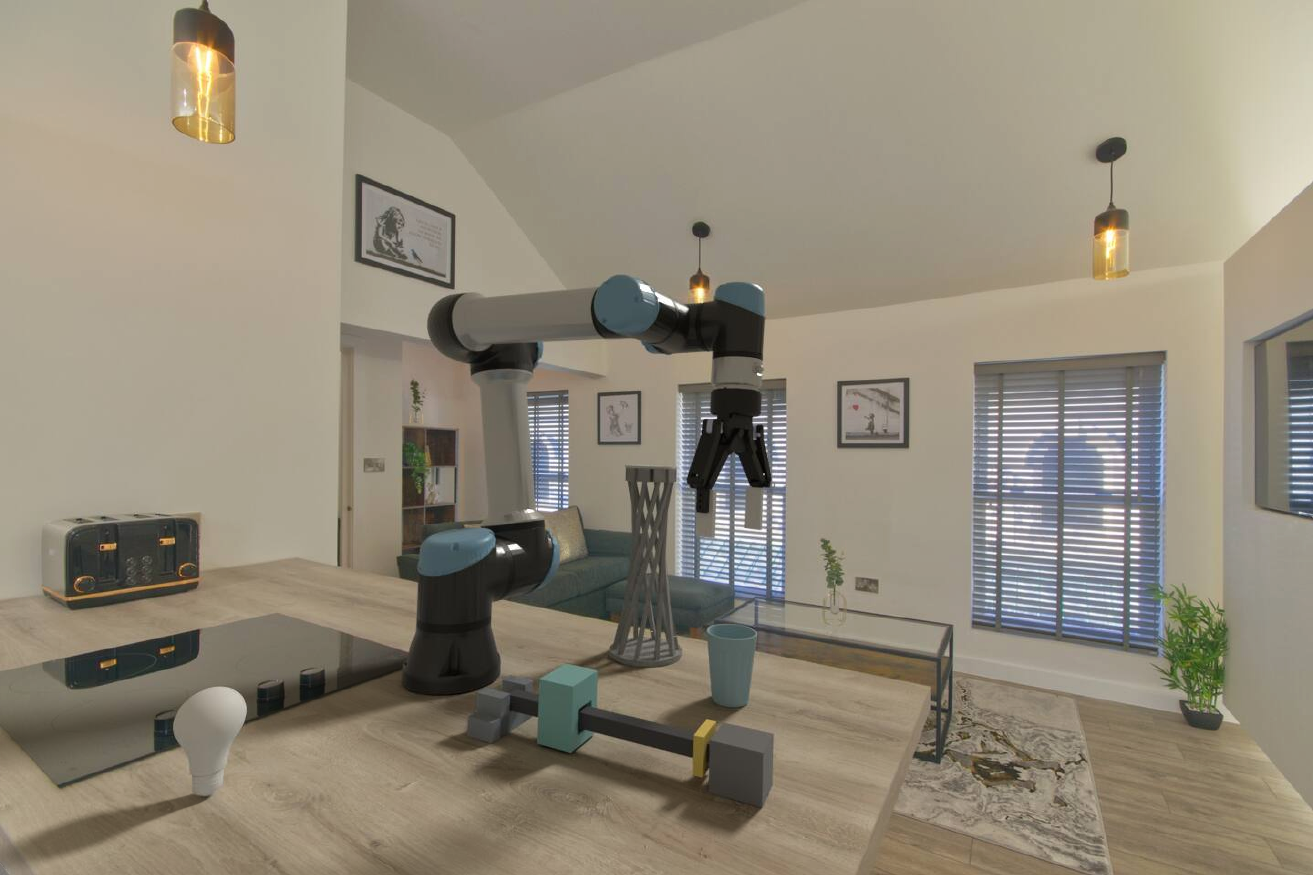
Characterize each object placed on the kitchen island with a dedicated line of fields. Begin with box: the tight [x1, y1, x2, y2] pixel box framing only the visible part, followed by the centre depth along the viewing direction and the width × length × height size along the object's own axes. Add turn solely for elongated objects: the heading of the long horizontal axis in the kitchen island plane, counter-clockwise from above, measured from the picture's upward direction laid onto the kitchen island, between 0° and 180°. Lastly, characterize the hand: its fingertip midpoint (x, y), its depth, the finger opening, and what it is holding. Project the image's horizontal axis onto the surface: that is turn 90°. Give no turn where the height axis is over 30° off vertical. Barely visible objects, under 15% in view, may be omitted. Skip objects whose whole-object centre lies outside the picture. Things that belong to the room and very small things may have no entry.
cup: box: [706, 623, 758, 708], centre depth 87 cm, size 8×8×10 cm
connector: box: [708, 721, 775, 809], centre depth 64 cm, size 6×5×6 cm
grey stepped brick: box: [466, 674, 534, 744], centre depth 78 cm, size 4×10×5 cm, turn 155°
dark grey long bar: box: [510, 689, 717, 778], centre depth 70 cm, size 34×4×4 cm, turn 66°
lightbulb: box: [172, 686, 248, 798], centre depth 60 cm, size 6×6×11 cm
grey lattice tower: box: [608, 464, 683, 668], centre depth 107 cm, size 14×13×35 cm
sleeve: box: [536, 663, 599, 754], centre depth 74 cm, size 5×6×8 cm
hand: (730, 532), depth 85 cm, fingers open, 13 cm apart
